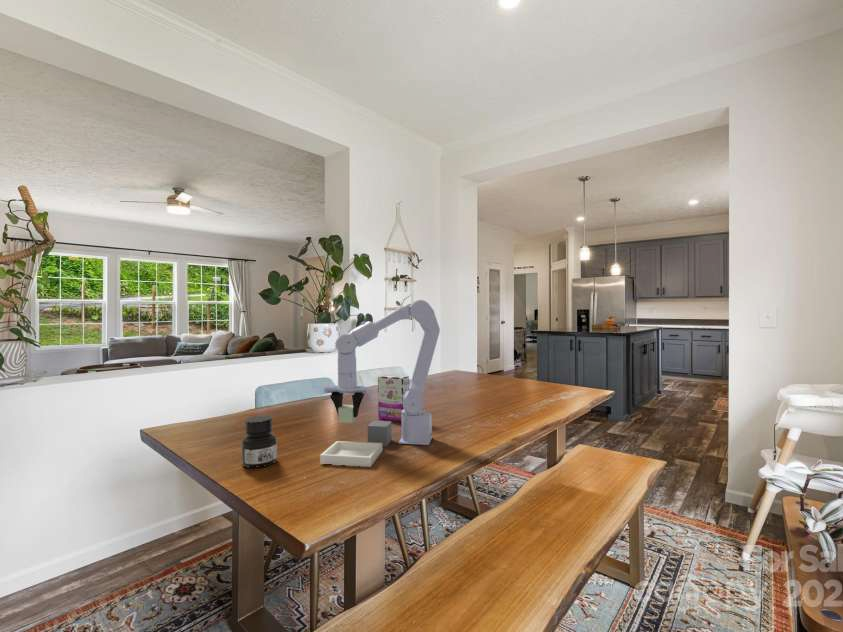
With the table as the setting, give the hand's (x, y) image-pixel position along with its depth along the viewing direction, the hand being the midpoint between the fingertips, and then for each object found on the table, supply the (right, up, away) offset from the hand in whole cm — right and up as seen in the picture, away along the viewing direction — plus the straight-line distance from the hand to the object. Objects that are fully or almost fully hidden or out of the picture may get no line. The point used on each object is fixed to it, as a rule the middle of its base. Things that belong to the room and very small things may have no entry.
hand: (347, 416), depth 129 cm
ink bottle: (-21, -9, -17) cm, 28 cm away
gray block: (+10, -8, -1) cm, 13 cm away
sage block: (0, -1, 0) cm, 1 cm away
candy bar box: (+13, -8, +26) cm, 30 cm away
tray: (+4, -8, -14) cm, 16 cm away
